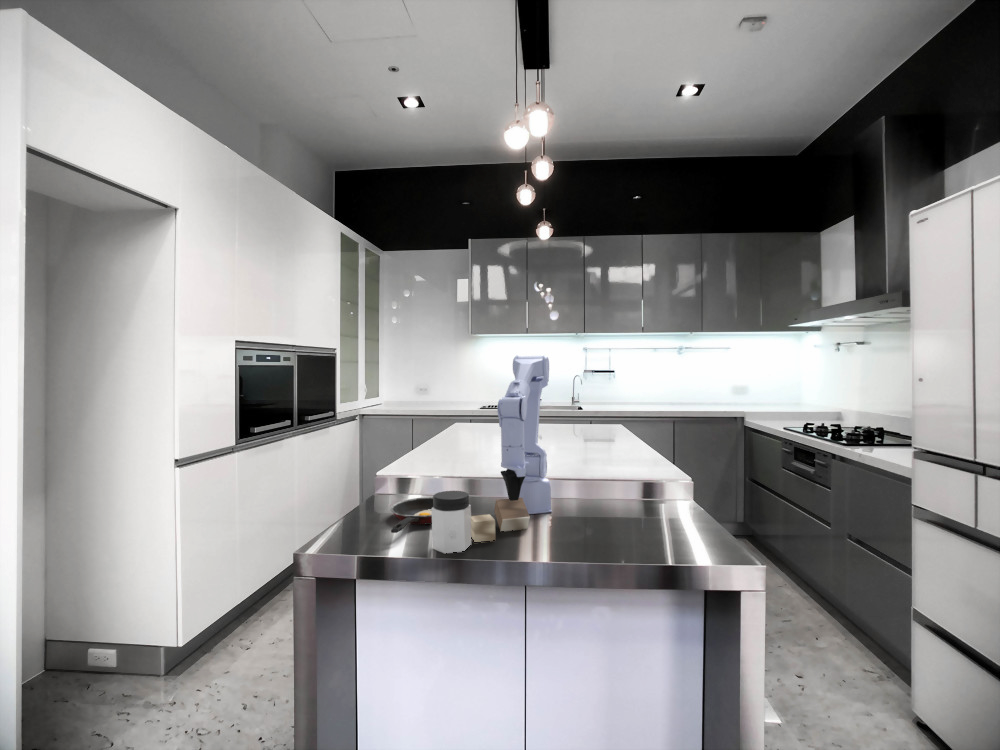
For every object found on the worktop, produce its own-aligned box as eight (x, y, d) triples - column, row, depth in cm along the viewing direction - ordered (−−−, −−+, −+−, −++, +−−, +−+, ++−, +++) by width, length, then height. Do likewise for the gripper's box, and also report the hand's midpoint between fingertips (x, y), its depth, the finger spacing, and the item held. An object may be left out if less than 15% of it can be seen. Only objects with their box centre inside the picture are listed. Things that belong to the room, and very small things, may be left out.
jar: (434, 555, 116) (433, 500, 116) (430, 543, 124) (429, 492, 124) (474, 551, 118) (473, 497, 118) (468, 539, 126) (467, 489, 126)
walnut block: (527, 528, 134) (520, 508, 139) (530, 517, 132) (522, 497, 137) (500, 531, 132) (494, 511, 137) (502, 520, 130) (495, 499, 135)
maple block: (489, 534, 130) (489, 514, 130) (495, 541, 125) (495, 520, 125) (469, 536, 129) (469, 516, 128) (474, 543, 124) (474, 522, 124)
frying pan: (467, 508, 153) (467, 495, 153) (433, 547, 121) (432, 531, 121) (405, 506, 156) (404, 493, 156) (356, 543, 125) (355, 528, 125)
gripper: (537, 449, 126) (538, 505, 127) (519, 440, 140) (520, 491, 141) (508, 450, 124) (509, 508, 125) (493, 441, 138) (494, 493, 139)
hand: (513, 499), depth 133 cm, fingers closed
